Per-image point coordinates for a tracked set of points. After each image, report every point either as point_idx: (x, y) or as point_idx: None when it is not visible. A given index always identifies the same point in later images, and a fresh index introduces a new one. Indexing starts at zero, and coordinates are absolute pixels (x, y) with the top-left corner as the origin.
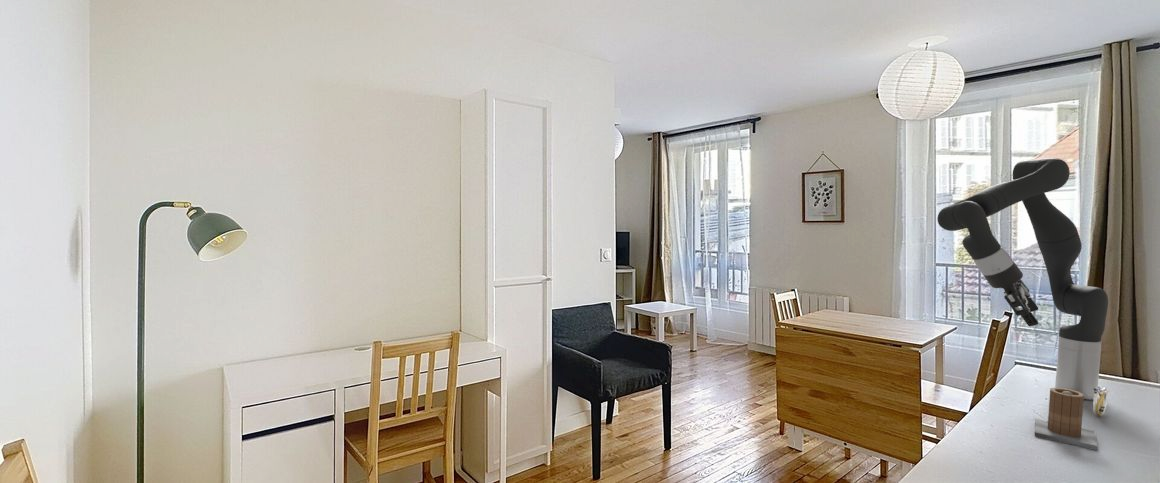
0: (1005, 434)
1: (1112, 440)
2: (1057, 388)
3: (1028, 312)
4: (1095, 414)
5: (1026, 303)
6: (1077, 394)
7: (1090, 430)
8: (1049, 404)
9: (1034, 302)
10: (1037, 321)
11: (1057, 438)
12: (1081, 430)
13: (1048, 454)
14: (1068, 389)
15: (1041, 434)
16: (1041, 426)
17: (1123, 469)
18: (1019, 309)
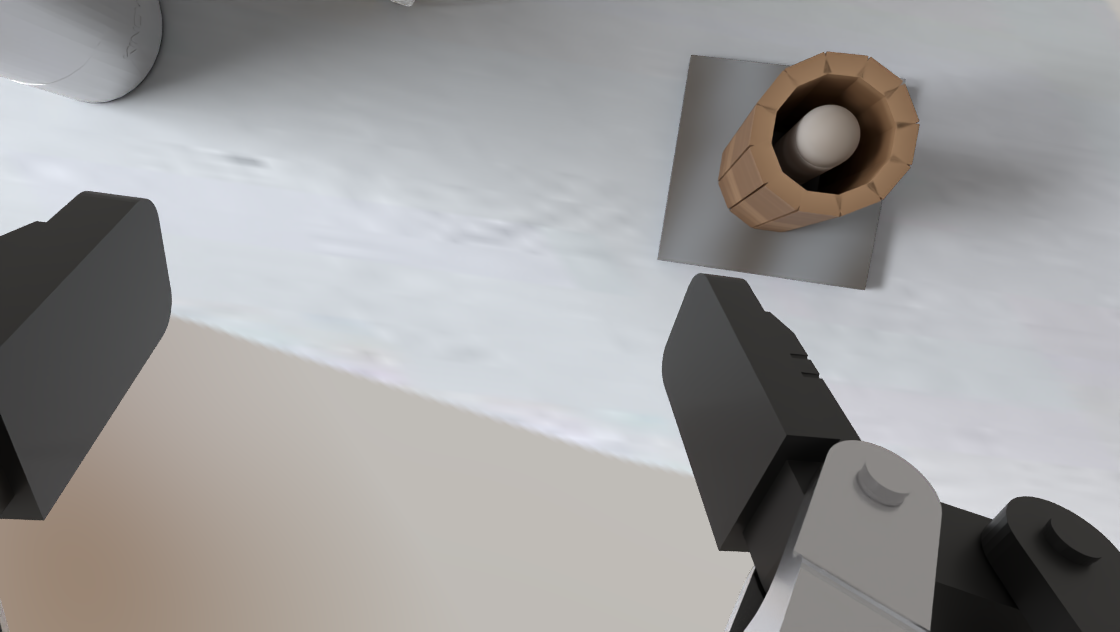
0: (906, 397)
1: (719, 4)
2: (774, 171)
3: (1052, 509)
4: (397, 2)
5: (863, 596)
6: (814, 81)
7: (692, 67)
8: (814, 223)
9: (9, 256)
10: (737, 287)
11: (877, 212)
12: (715, 102)
13: (1072, 273)
14: (760, 114)
15: (868, 266)
16: (760, 251)
17: (1085, 35)
18: (736, 615)
